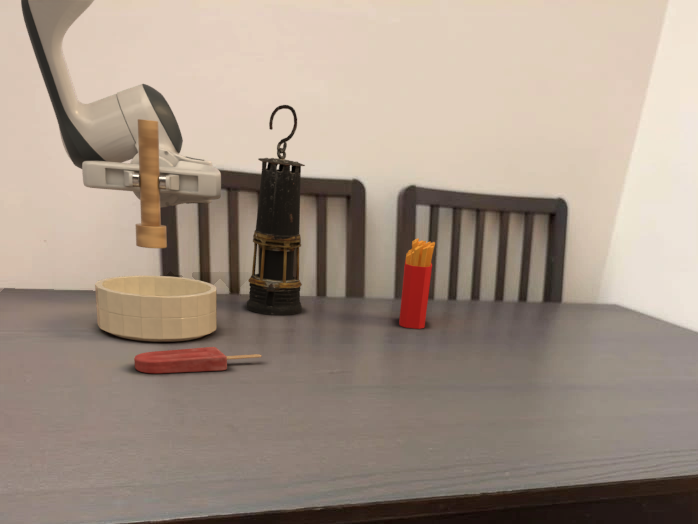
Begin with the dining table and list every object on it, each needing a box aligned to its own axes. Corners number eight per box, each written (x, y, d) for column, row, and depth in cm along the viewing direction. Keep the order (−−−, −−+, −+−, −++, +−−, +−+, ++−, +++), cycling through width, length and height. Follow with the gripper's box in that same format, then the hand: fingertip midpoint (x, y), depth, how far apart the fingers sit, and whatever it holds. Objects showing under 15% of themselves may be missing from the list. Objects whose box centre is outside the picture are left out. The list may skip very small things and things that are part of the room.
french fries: (398, 317, 121) (407, 235, 116) (424, 319, 121) (433, 238, 116) (398, 328, 113) (407, 241, 108) (426, 331, 113) (436, 244, 108)
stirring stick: (130, 244, 109) (125, 118, 102) (157, 243, 112) (153, 121, 105) (145, 248, 106) (141, 119, 99) (172, 248, 109) (170, 122, 102)
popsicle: (267, 353, 86) (138, 361, 80) (267, 367, 87) (139, 376, 81) (255, 343, 90) (130, 351, 83) (255, 357, 91) (131, 365, 84)
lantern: (268, 316, 113) (274, 101, 101) (234, 305, 119) (236, 100, 107) (312, 312, 119) (323, 108, 107) (278, 301, 125) (285, 106, 113)
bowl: (78, 323, 100) (74, 278, 98) (177, 313, 110) (177, 273, 108) (135, 349, 90) (133, 300, 88) (238, 336, 100) (239, 292, 98)
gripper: (88, 149, 114) (71, 150, 101) (221, 162, 117) (220, 164, 105) (90, 193, 116) (74, 199, 104) (221, 203, 120) (220, 210, 108)
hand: (149, 181), depth 104 cm, fingers closed on stirring stick, 3 cm apart
